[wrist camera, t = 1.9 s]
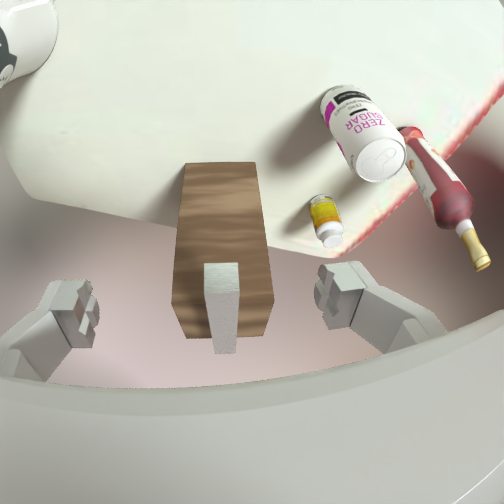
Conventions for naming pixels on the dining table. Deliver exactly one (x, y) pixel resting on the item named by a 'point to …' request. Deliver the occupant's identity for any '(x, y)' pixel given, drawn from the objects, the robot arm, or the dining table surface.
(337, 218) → the supplement bottle
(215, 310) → the aluminium bar
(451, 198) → the liquor
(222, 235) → the walnut stand
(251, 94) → the dining table surface
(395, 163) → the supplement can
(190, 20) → the dining table surface
